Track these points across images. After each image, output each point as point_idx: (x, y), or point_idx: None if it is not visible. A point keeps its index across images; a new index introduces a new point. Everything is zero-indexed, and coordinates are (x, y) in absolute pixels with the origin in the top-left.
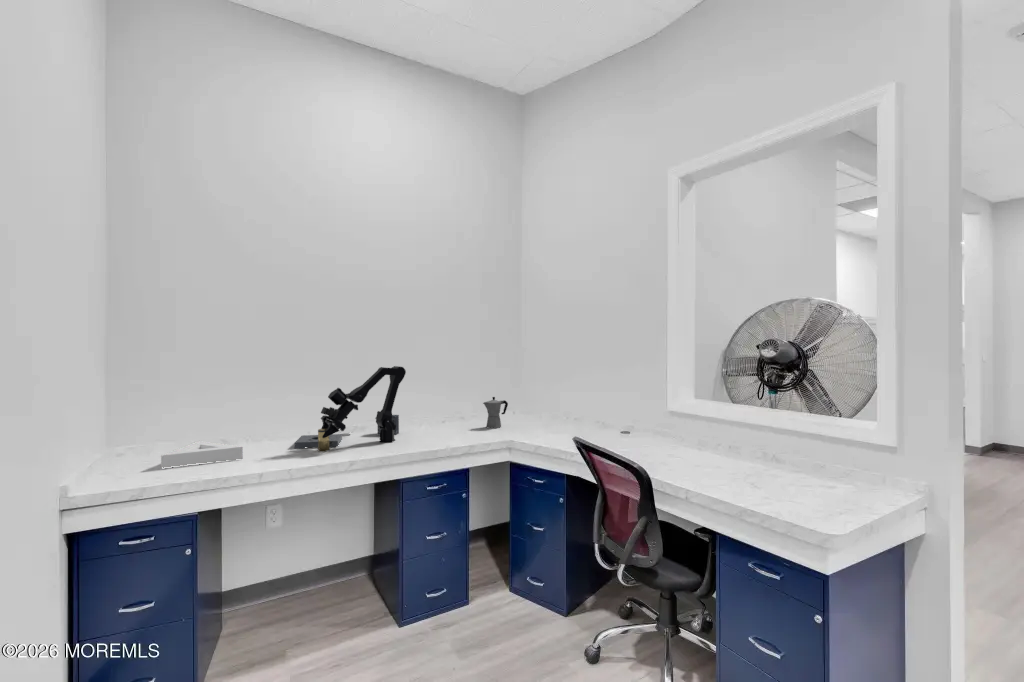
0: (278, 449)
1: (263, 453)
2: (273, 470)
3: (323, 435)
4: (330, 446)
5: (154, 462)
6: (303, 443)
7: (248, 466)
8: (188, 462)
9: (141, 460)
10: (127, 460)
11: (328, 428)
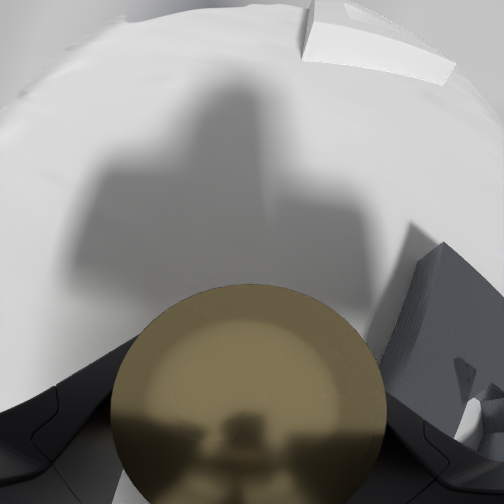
0: (432, 199)
1: (375, 126)
2: (63, 65)
3: (124, 345)
4: None
5: None
6: (425, 295)
7: (182, 40)
8: (309, 13)
9: None
10: None
11: (17, 424)
